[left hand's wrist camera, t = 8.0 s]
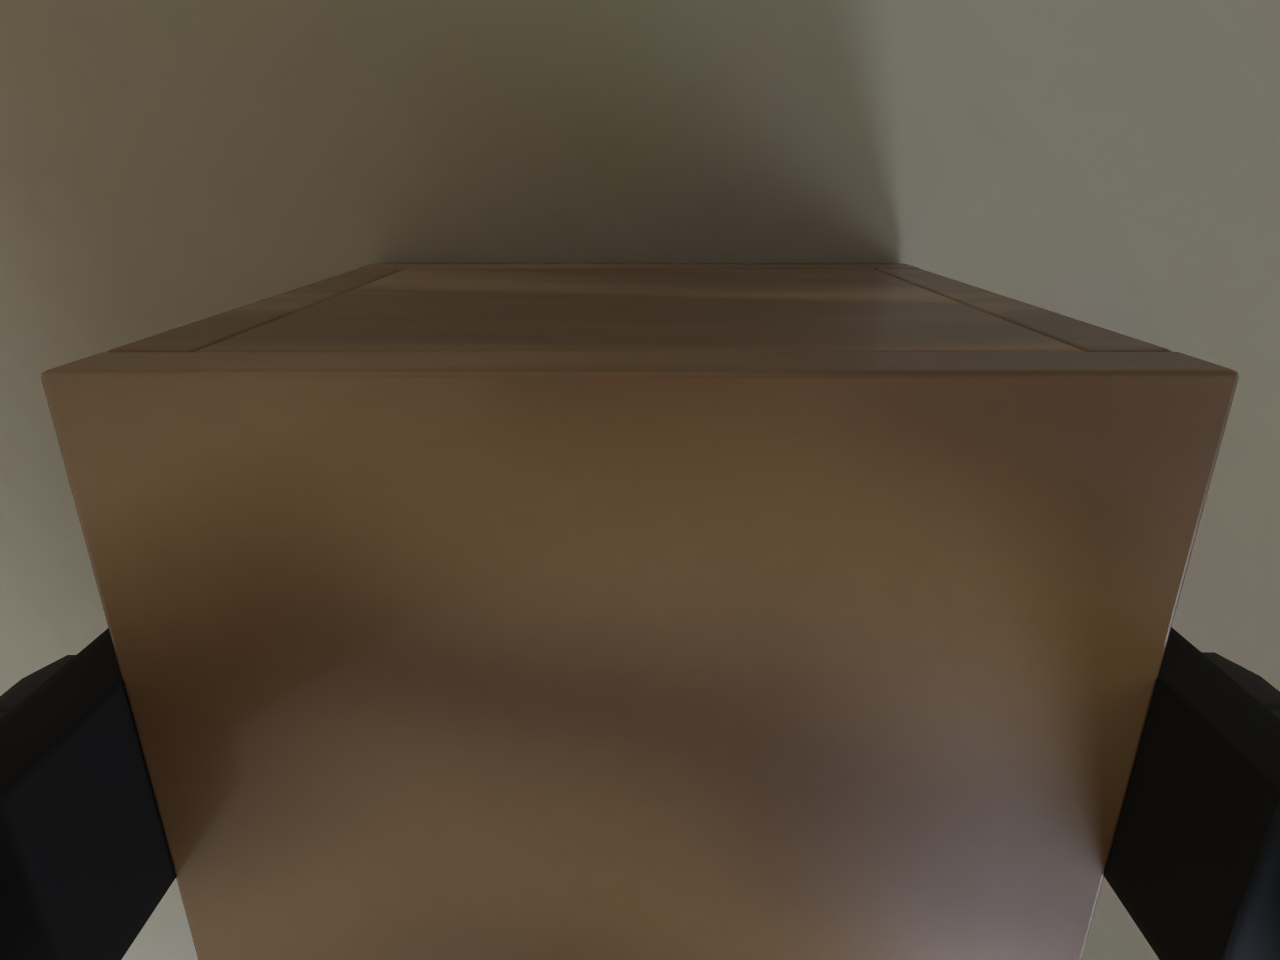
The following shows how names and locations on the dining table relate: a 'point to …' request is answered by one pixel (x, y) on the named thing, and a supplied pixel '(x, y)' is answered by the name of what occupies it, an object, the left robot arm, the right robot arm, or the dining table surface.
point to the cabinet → (639, 607)
